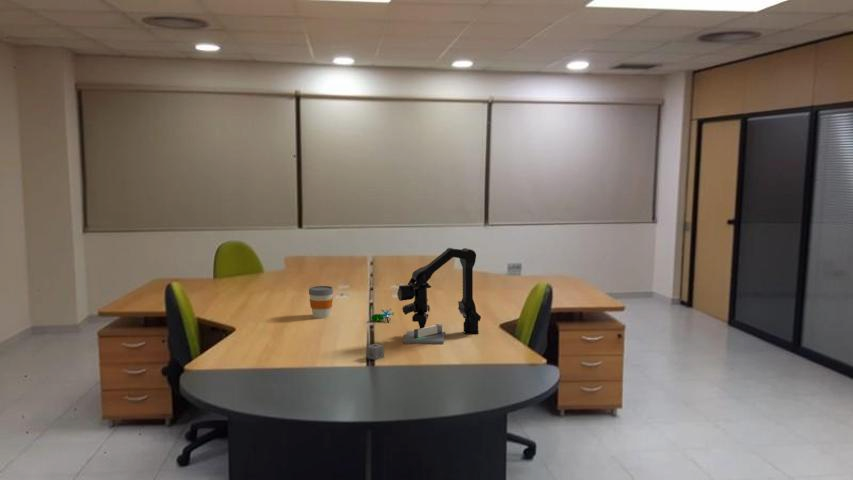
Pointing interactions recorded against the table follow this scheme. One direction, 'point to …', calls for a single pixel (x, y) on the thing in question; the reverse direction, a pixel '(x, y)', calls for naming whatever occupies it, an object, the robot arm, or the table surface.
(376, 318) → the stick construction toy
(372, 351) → the dice cube
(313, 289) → the reusable coffee cup
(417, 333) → the light grey rounded bar
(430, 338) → the plate
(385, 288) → the table surface
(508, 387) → the table surface
